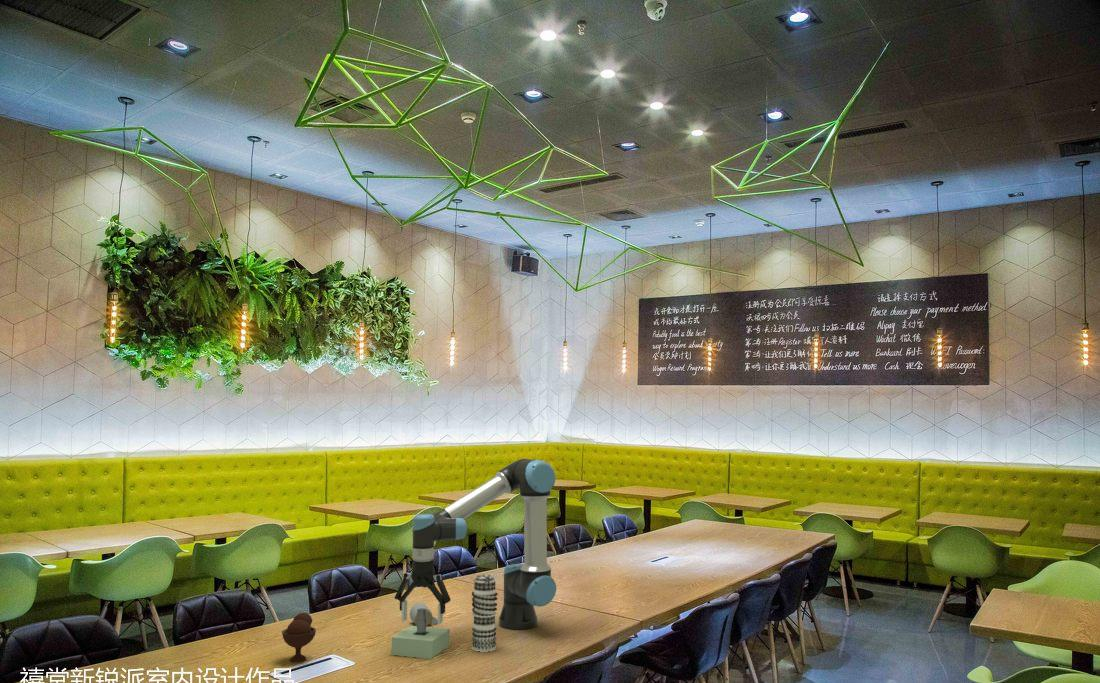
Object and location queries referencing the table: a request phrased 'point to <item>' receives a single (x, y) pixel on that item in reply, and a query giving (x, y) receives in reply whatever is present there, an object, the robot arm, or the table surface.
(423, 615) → the pin
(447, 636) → the socket block
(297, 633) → the ice cream bowl
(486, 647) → the decorative candle
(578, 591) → the table surface
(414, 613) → the ceramic mug
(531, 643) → the table surface
